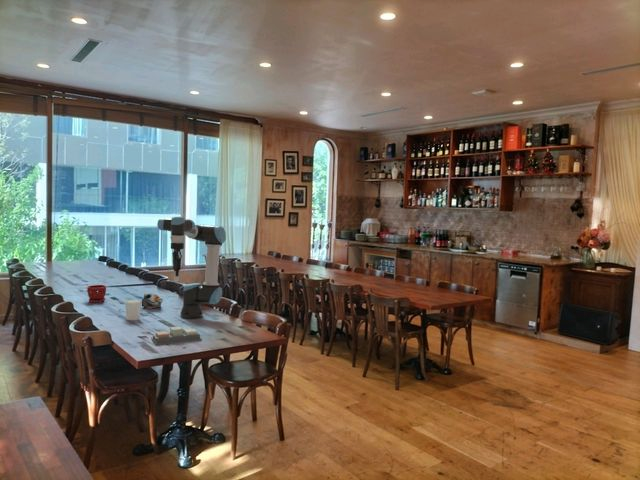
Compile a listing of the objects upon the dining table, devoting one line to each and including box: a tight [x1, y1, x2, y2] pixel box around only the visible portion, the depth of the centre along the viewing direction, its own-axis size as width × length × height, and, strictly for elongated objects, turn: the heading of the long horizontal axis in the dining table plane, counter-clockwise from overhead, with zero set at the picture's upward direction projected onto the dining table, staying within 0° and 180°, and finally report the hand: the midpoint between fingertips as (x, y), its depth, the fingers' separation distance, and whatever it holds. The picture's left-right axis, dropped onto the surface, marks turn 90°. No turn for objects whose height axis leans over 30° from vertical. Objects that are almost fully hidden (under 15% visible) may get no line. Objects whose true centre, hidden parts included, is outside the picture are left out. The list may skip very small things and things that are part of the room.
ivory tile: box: [183, 328, 198, 335], centre depth 289 cm, size 6×6×4 cm
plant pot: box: [86, 284, 107, 303], centre depth 376 cm, size 13×13×12 cm
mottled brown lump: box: [141, 292, 164, 310], centre depth 363 cm, size 15×12×14 cm
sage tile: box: [169, 326, 184, 336], centre depth 284 cm, size 6×6×4 cm
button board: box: [151, 331, 202, 346], centre depth 285 cm, size 12×26×3 cm, turn 121°
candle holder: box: [125, 299, 142, 321], centre depth 328 cm, size 10×10×12 cm
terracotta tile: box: [155, 330, 170, 338], centre depth 281 cm, size 6×6×4 cm
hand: (176, 281), depth 294 cm, fingers closed
